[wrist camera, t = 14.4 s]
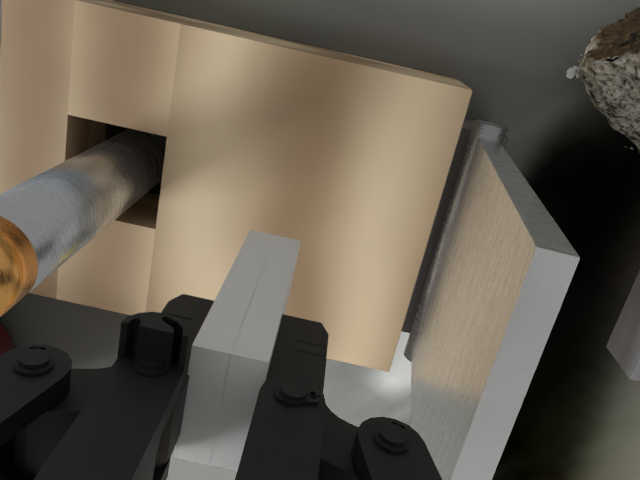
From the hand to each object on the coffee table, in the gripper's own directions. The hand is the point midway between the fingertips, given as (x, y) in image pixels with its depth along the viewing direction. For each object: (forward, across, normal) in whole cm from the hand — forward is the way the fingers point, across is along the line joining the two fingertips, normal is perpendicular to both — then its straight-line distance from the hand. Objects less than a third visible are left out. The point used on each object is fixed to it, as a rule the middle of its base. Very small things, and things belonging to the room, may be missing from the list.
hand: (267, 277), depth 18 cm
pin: (+10, -7, 0) cm, 12 cm away
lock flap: (+6, +6, 0) cm, 9 cm away
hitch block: (+10, +3, 0) cm, 11 cm away
